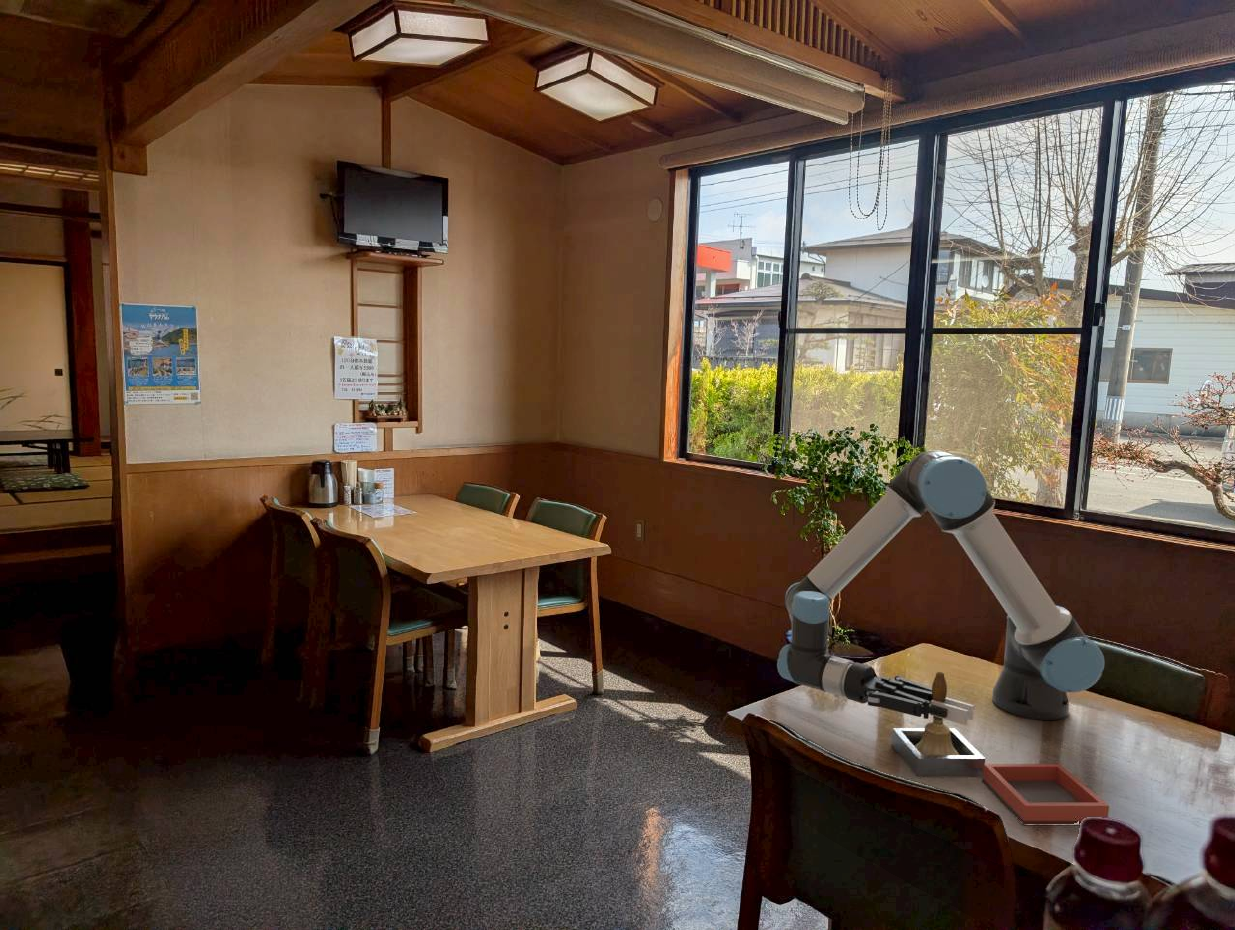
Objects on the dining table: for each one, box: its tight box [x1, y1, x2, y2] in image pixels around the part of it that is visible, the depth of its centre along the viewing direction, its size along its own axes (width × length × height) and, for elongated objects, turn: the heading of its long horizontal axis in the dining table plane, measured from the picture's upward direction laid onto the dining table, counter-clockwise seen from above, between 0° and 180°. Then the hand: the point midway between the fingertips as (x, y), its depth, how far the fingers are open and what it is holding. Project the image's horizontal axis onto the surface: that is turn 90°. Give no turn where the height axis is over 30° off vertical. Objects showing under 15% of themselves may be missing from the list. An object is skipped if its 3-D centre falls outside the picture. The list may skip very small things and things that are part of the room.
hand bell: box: [915, 671, 959, 755], centre depth 155 cm, size 8×8×16 cm
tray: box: [981, 763, 1110, 825], centre depth 141 cm, size 14×14×3 cm
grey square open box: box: [891, 727, 986, 778], centre depth 156 cm, size 12×12×4 cm
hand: (969, 715), depth 151 cm, fingers closed on hand bell, 2 cm apart
